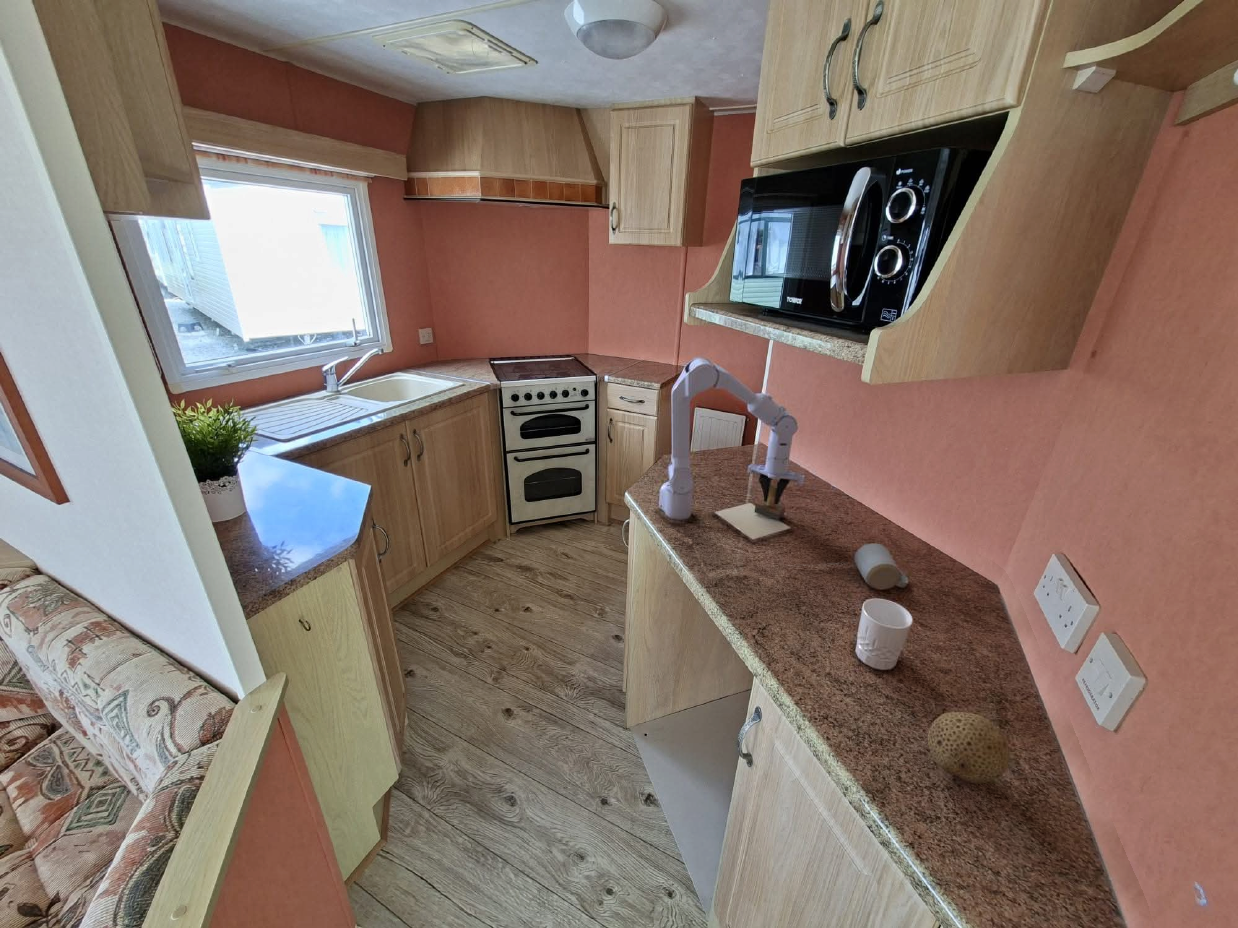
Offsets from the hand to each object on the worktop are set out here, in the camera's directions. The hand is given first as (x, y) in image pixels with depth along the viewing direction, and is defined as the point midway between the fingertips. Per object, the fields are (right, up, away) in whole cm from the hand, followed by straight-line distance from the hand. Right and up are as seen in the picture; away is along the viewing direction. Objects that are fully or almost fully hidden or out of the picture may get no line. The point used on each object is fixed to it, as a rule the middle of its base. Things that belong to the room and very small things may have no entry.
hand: (771, 501), depth 135 cm
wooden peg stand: (0, -4, +1) cm, 4 cm away
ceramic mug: (+17, -16, -24) cm, 34 cm away
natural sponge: (+6, -34, -65) cm, 74 cm away
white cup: (+5, -25, -45) cm, 52 cm away
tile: (-6, -6, -1) cm, 8 cm away
